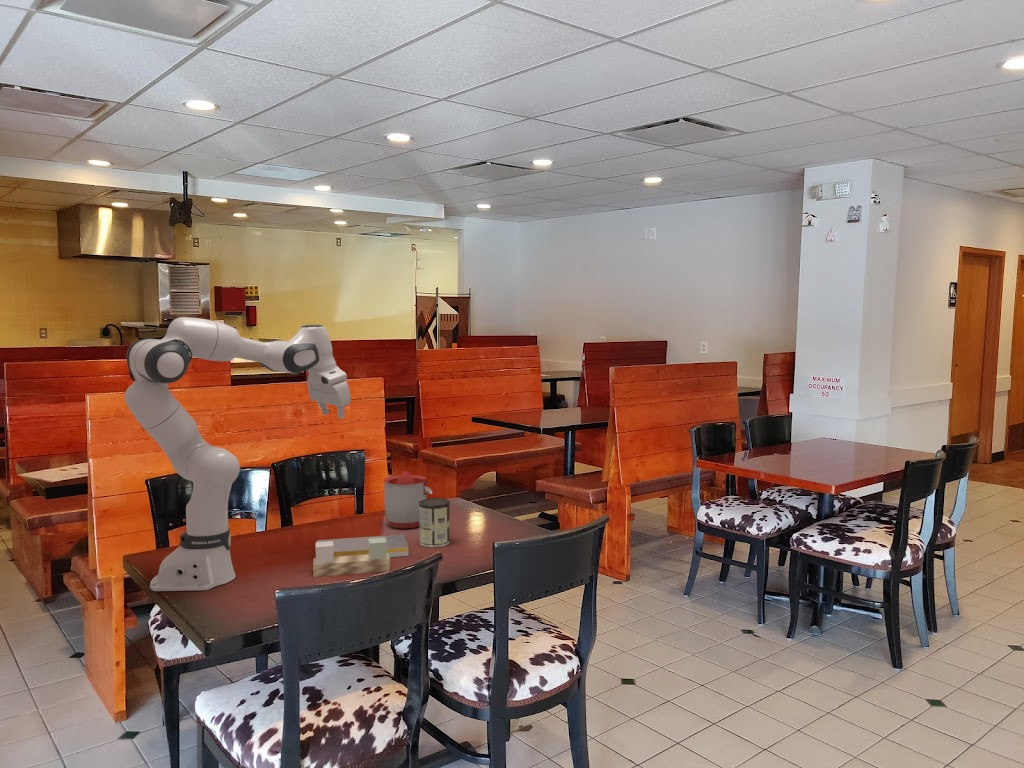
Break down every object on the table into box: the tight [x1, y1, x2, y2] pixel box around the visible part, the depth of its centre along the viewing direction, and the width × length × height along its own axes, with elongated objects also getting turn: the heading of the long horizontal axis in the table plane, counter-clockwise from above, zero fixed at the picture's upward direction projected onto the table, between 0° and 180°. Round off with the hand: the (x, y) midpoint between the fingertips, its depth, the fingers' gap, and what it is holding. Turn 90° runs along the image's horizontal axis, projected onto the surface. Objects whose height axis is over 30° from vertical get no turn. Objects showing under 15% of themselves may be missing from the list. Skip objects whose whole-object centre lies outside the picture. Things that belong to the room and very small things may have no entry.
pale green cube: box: [368, 538, 387, 560], centre depth 229 cm, size 5×5×5 cm
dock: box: [316, 534, 410, 558], centre depth 244 cm, size 28×14×3 cm, turn 104°
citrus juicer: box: [383, 470, 433, 529], centre depth 276 cm, size 16×17×20 cm
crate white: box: [315, 541, 334, 564], centre depth 225 cm, size 5×5×5 cm
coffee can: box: [418, 497, 451, 548], centre depth 255 cm, size 10×10×14 cm
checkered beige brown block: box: [312, 553, 391, 578], centre depth 227 cm, size 22×6×4 cm, turn 104°
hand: (333, 415), depth 243 cm, fingers open, 8 cm apart
